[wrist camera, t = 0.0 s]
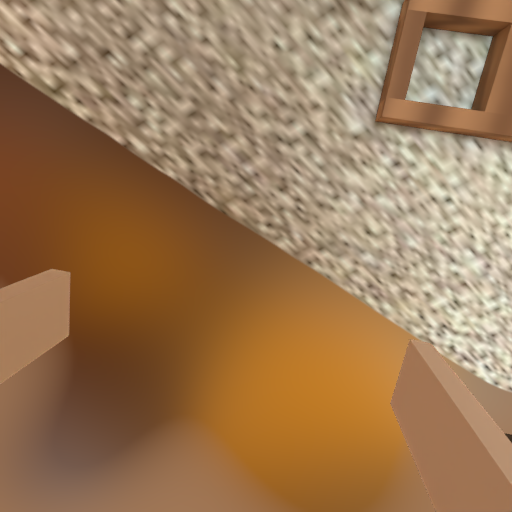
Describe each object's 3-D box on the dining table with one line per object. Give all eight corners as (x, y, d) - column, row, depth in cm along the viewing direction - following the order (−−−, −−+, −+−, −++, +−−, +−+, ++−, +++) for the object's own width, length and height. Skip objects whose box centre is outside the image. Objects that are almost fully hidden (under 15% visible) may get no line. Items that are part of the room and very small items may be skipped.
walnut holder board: (375, 121, 36) (382, 116, 33) (402, 3, 33) (412, -13, 30) (591, 154, 34) (618, 151, 31) (639, 33, 32) (673, 19, 29)
